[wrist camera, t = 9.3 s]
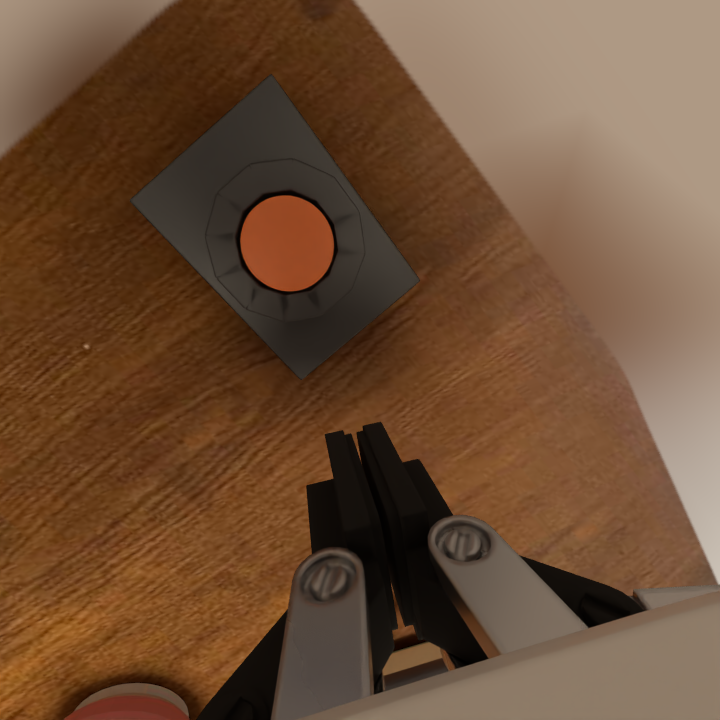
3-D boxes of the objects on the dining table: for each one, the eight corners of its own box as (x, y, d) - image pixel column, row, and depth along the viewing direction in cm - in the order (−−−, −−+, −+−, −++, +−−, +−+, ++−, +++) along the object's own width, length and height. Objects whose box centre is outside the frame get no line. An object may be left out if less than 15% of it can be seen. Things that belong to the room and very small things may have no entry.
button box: (142, 203, 18) (110, 195, 15) (272, 87, 18) (269, 53, 14) (300, 370, 22) (302, 393, 18) (410, 277, 21) (433, 284, 18)
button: (226, 237, 16) (219, 237, 15) (291, 180, 16) (292, 174, 14) (284, 303, 18) (284, 309, 16) (346, 250, 17) (352, 252, 16)
